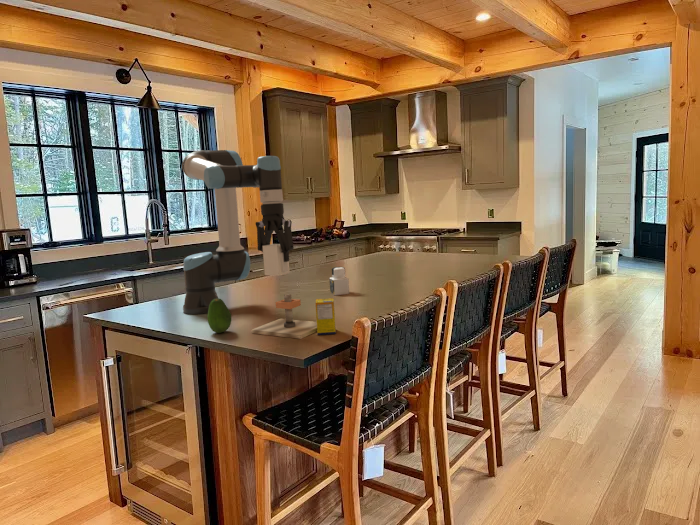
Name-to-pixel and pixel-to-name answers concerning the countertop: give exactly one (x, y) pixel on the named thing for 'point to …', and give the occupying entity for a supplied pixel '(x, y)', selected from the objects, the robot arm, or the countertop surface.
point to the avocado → (218, 316)
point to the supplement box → (325, 316)
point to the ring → (288, 304)
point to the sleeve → (273, 260)
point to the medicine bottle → (339, 281)
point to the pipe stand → (287, 325)
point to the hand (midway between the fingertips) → (277, 271)
